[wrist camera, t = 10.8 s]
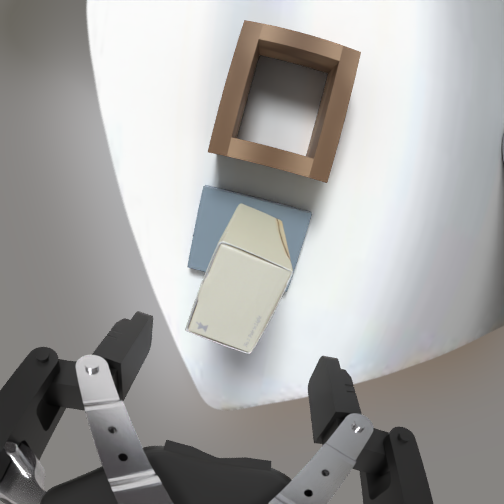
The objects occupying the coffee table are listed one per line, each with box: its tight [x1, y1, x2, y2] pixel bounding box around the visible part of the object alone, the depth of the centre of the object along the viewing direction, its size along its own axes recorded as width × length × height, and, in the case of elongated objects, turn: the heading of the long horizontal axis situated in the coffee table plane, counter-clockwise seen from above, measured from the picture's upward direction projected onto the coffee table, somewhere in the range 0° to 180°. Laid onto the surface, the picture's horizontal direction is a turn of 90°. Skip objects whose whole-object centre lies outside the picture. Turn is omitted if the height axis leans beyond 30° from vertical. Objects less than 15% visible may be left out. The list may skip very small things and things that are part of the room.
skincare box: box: [185, 203, 293, 354], centre depth 22 cm, size 6×4×12 cm
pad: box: [188, 185, 312, 291], centre depth 28 cm, size 10×8×1 cm
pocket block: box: [208, 20, 361, 183], centre depth 22 cm, size 9×11×4 cm
